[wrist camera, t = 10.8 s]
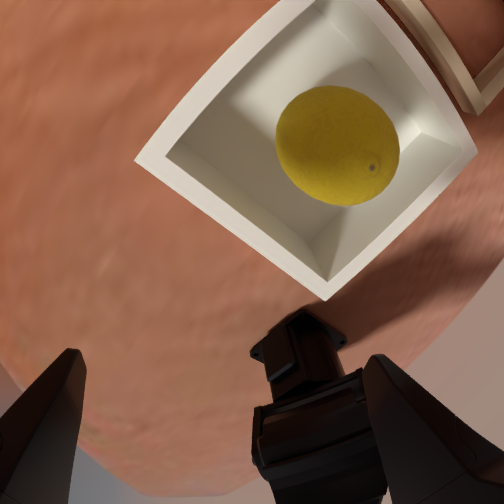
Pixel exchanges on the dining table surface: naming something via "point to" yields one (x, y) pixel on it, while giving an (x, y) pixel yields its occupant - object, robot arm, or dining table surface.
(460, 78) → the rectangular frame
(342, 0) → the bin
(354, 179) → the lemon
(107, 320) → the dining table surface
